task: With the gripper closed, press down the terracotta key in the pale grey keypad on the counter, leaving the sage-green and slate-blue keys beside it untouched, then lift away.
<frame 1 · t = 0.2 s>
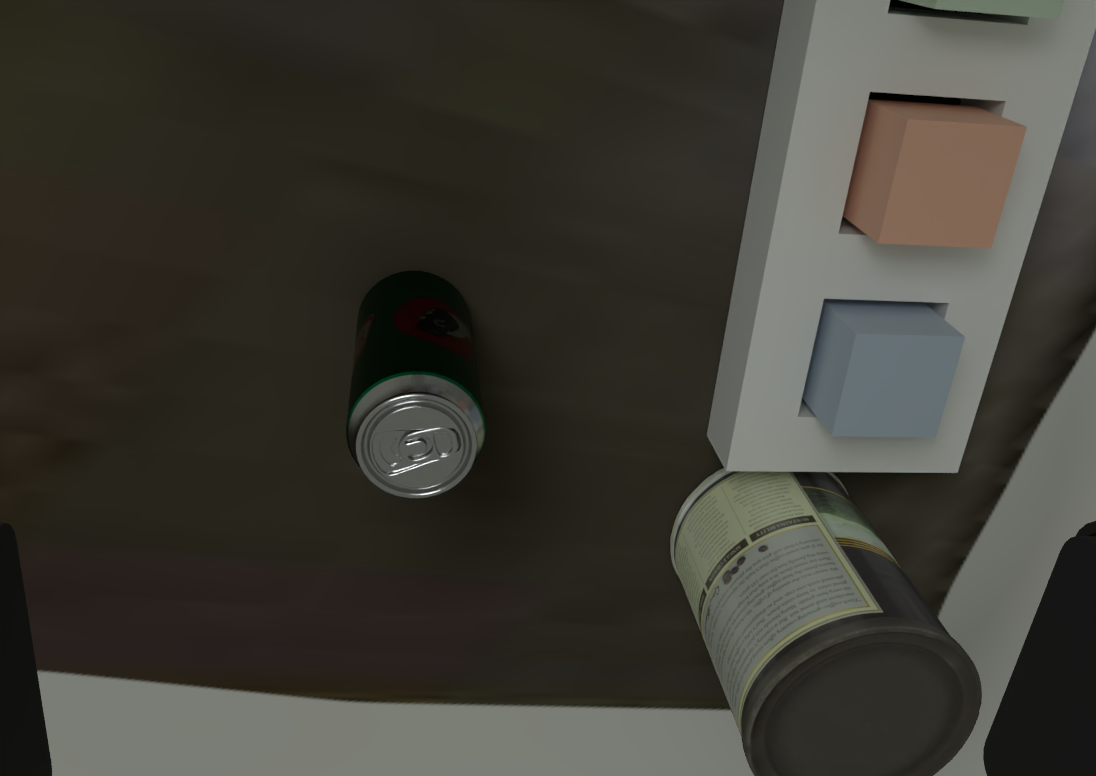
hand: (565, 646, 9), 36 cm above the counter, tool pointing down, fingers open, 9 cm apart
keypad housing: (885, 149, 46), on the counter
soda can: (414, 316, 47), on the counter
terracotta key: (928, 173, 42), point 4 cm above the counter, slide at 0.0 cm
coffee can: (759, 530, 55), on the counter
slate key: (878, 367, 46), point 4 cm above the counter, slide at 0.0 cm
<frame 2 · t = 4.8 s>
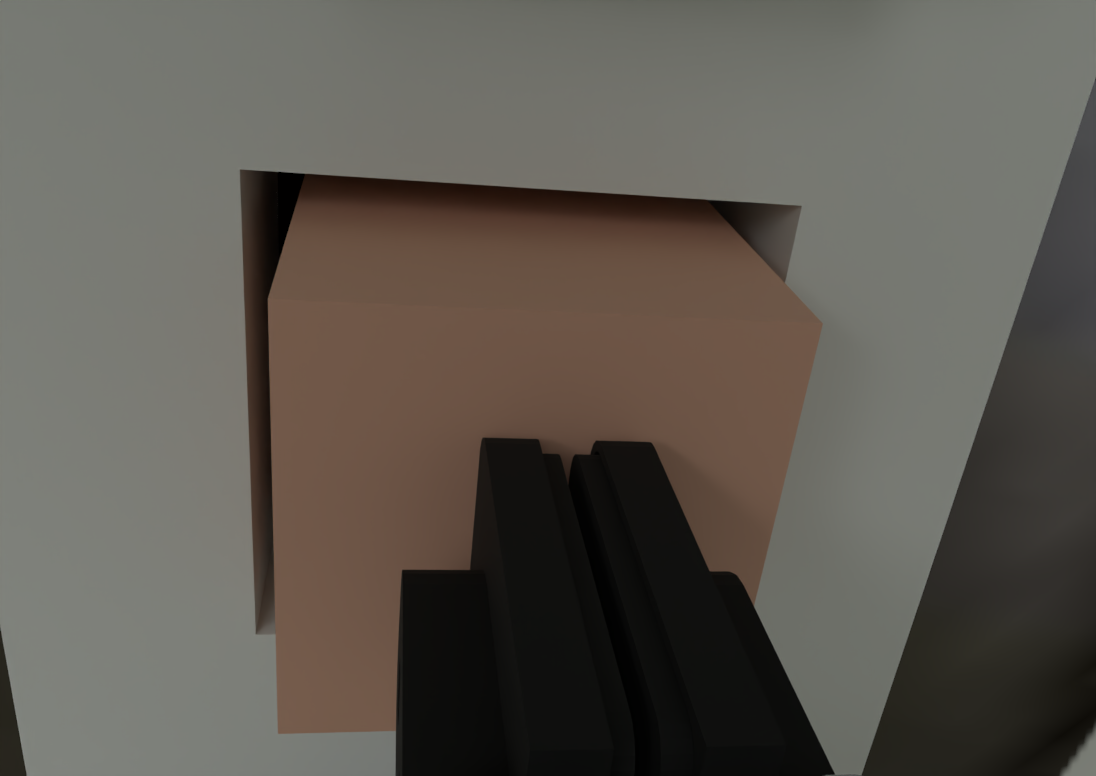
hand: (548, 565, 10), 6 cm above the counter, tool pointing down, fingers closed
keypad housing: (486, 319, 15), on the counter
terracotta key: (511, 442, 12), point 4 cm above the counter, slide at 0.5 cm, touching gripper
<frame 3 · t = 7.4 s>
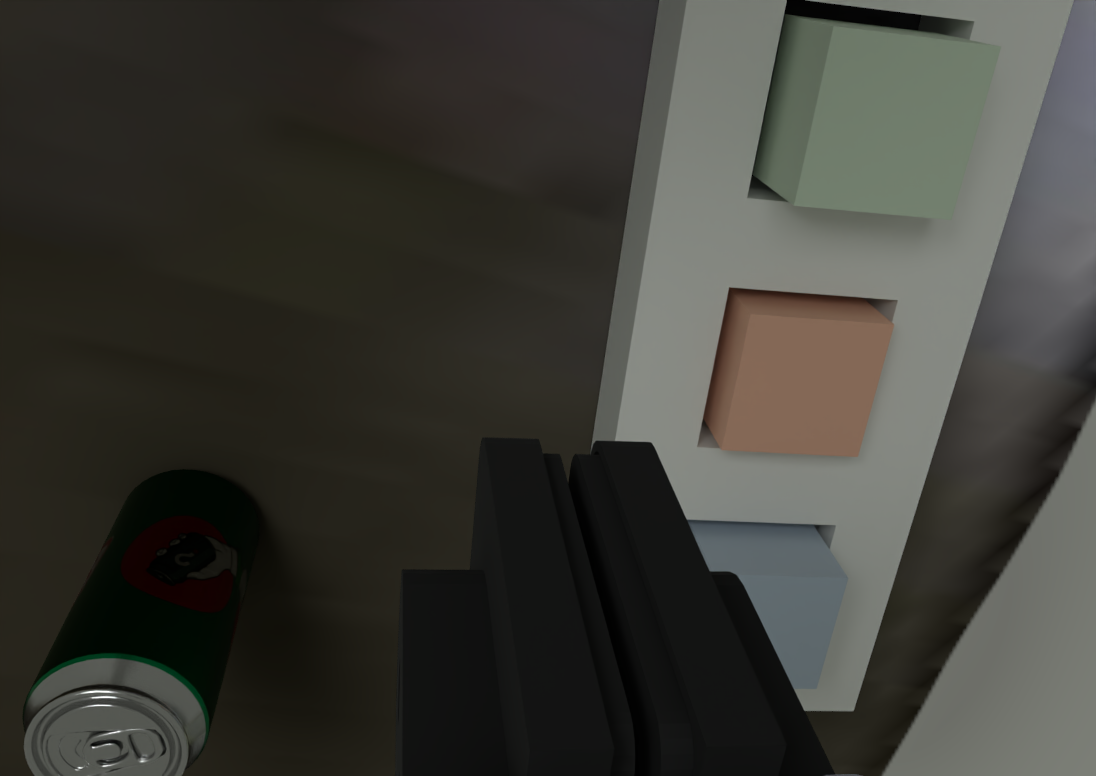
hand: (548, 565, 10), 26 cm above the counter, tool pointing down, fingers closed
keypad housing: (764, 337, 38), on the counter
soda can: (194, 516, 39), on the counter
terracotta key: (786, 365, 36), point 3 cm above the counter, slide at 1.6 cm
sage key: (867, 115, 31), point 4 cm above the counter, slide at 0.0 cm
slate key: (749, 599, 38), point 4 cm above the counter, slide at 0.0 cm
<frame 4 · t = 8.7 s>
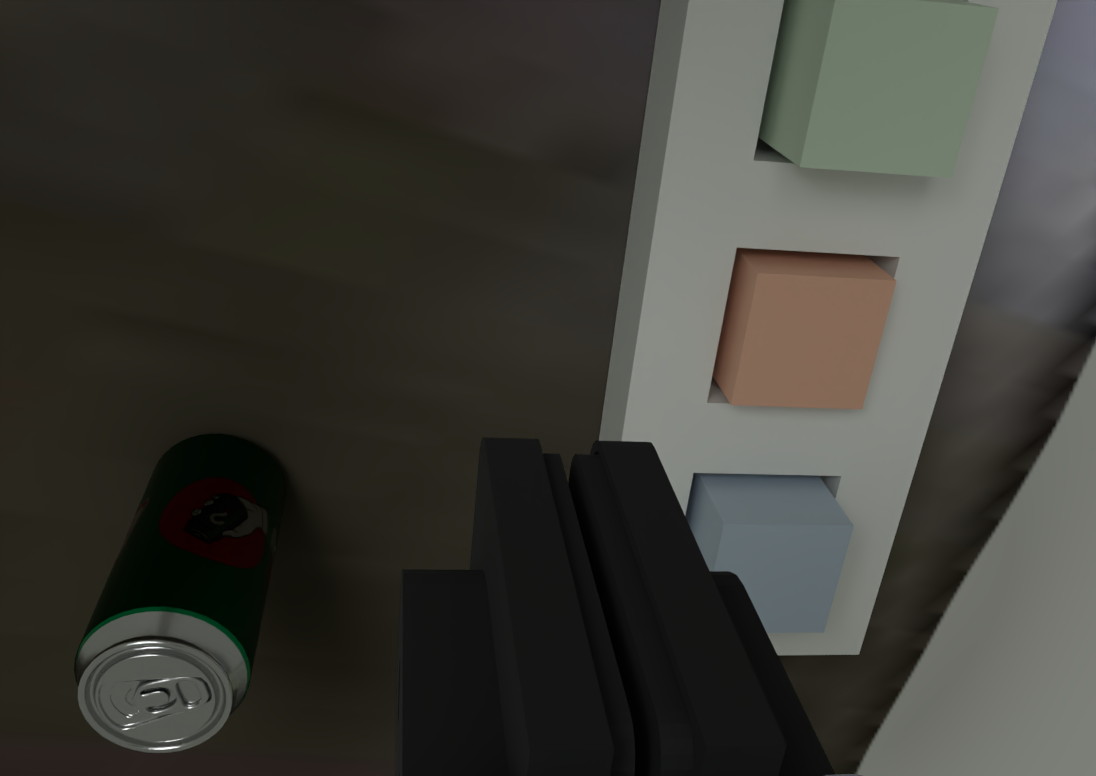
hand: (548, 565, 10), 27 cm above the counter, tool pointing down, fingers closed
keypad housing: (769, 296, 39), on the counter
soda can: (222, 479, 40), on the counter
terracotta key: (792, 322, 37), point 3 cm above the counter, slide at 1.6 cm
sage key: (869, 78, 32), point 4 cm above the counter, slide at 0.0 cm
slate key: (759, 549, 39), point 4 cm above the counter, slide at 0.0 cm
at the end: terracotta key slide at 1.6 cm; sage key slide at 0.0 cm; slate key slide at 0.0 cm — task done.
